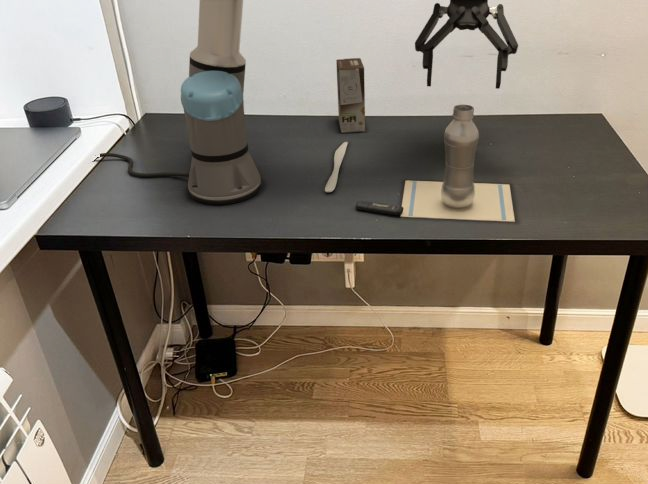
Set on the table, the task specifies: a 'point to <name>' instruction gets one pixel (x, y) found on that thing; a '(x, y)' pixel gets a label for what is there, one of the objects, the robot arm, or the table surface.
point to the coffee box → (351, 95)
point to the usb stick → (379, 207)
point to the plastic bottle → (460, 158)
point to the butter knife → (336, 167)
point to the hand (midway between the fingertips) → (463, 85)
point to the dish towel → (486, 206)
